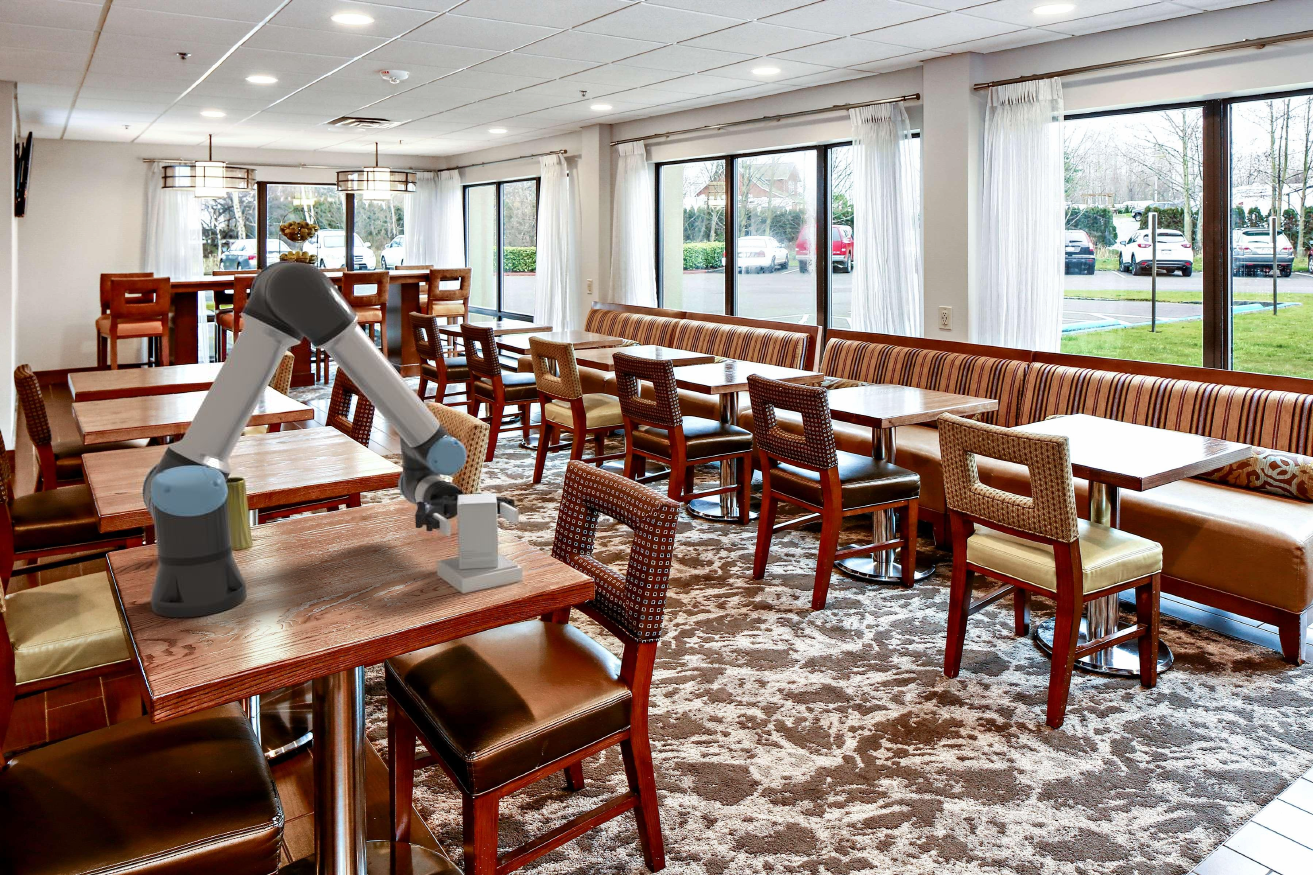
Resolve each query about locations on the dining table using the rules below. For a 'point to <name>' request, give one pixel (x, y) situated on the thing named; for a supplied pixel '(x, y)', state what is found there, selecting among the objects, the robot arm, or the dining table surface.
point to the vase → (238, 513)
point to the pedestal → (479, 574)
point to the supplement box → (477, 531)
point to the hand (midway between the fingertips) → (483, 522)
